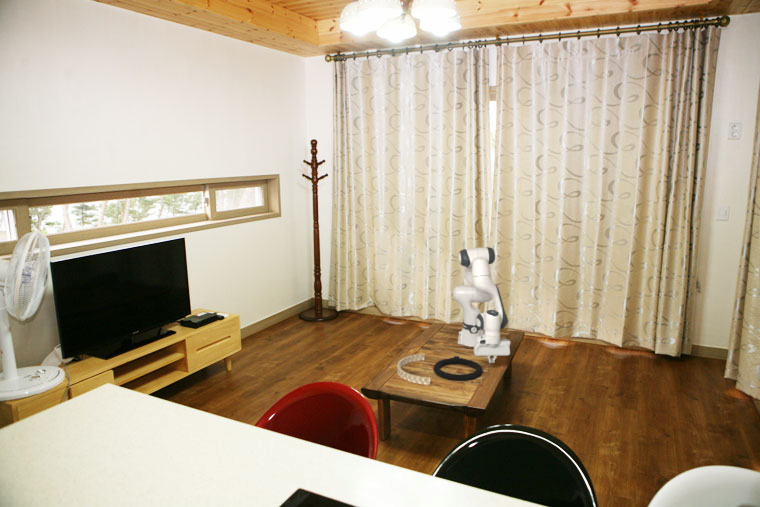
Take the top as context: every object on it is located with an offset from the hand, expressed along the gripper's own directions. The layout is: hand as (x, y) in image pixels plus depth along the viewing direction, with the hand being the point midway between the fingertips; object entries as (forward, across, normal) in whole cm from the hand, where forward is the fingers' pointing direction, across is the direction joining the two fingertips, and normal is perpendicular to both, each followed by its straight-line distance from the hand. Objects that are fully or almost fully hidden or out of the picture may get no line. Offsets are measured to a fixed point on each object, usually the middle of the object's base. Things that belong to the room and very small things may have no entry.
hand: (491, 362), depth 295 cm
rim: (+5, +45, 0) cm, 45 cm away
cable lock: (+6, +19, 0) cm, 20 cm away
